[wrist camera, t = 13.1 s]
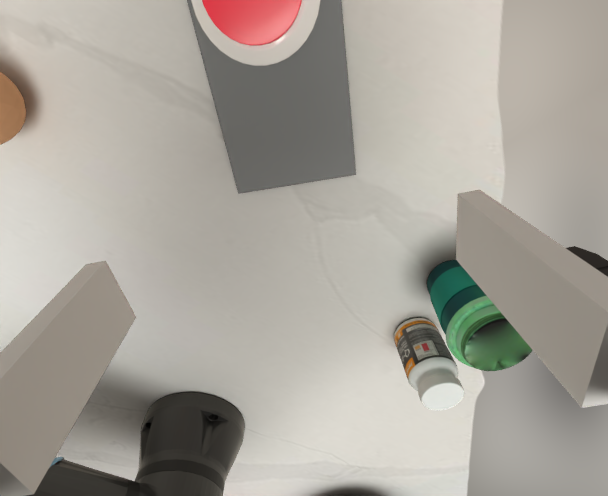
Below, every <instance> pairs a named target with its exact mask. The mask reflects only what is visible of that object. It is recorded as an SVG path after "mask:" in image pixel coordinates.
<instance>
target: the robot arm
mask: <svg viewBox="0 0 608 496" xmlns="http://www.w3.org/2000/svg"><path fill="white" fill-rule="evenodd" d="M456 260H457V261H458V262H459V264H460V265H461V266H462V267H463V268H464V269H465V271H466V272H467V273H468V274H469V275H470V277H471V278H472V279H473V280H474V281H475V282H476V284H477V285H478V286H479V287H480V288H481V290H482V291H483V292H484V293H485V294H486V295H487V297H488V298H489V299H490V300H491V301H492V303H493V304H494V305H495V306H496V307H497V308H498V310H499V311H500V312H501V313H502V314H503V316H504V317H505V318H506V319H507V320H508V321H509V323H510V324H511V325H512V326H513V327H514V329H515V330H516V331H517V332H518V333H519V334H520V336H521V337H522V338H523V339H524V340H525V342H526V343H527V344H528V345H529V346H530V347H531V349H532V350H533V351H534V352H535V353H536V355H537V356H538V357H539V358H540V359H541V360H542V362H543V363H544V364H545V365H546V366H547V368H548V369H549V370H550V371H551V372H552V373H553V375H554V376H555V377H556V378H557V379H558V380H559V382H560V383H561V384H562V385H563V386H564V387H565V389H566V390H567V391H568V392H569V393H570V395H571V396H572V397H573V398H574V399H575V401H576V402H577V403H578V404H579V405H580V406H581V408H583V407H590V406H596V405H602V404H608V261H607V260H605V259H604V258H602V257H601V256H599V255H597V254H595V253H592V252H589V251H587V250H584V249H581V248H578V247H575V246H574V247H569V248H564V247H563V246H562V245H560V244H558V243H557V242H556V241H554V240H553V239H551V238H550V237H548V236H547V235H545V234H544V233H542V232H541V231H539V230H538V229H537V228H535V227H534V226H532V225H531V224H529V223H528V222H526V221H525V220H523V219H522V218H520V217H519V216H517V215H516V214H514V213H513V212H512V211H510V210H509V209H507V208H506V207H504V206H503V205H501V204H500V203H498V202H497V201H495V200H494V199H492V198H491V197H489V196H488V195H486V194H485V193H484V192H482V191H481V190H475V191H470V192H465V193H460V194H458V203H457V237H456ZM135 318H136V316H135V314H134V312H133V310H132V309H131V307H130V305H129V303H128V301H127V299H126V297H125V296H124V294H123V292H122V290H121V288H120V286H119V285H118V283H117V281H116V279H115V277H114V275H113V273H112V272H111V270H110V268H109V266H108V264H107V262H106V261H102V262H97V263H91V264H86V265H85V266H84V267H83V268H82V269H81V270H80V271H79V272H78V273H77V274H76V275H75V276H74V278H73V279H72V280H71V281H70V282H69V283H68V284H67V285H66V286H65V287H64V288H63V289H62V290H61V291H60V292H59V293H58V294H57V295H56V296H55V297H54V298H53V299H52V300H51V301H50V302H49V303H48V304H47V305H46V306H45V307H44V309H43V310H42V311H41V312H40V313H39V314H38V315H37V316H36V317H35V318H34V319H33V320H32V321H31V322H30V323H29V324H28V325H27V326H26V327H25V328H24V329H23V330H22V331H21V332H20V333H19V334H18V335H17V336H16V337H15V338H14V340H13V341H12V342H11V343H10V344H9V345H8V346H7V347H6V348H5V349H4V350H3V351H2V352H1V353H0V496H223V490H224V484H225V480H226V478H227V475H228V473H229V471H230V469H231V467H232V465H233V463H234V460H235V458H236V456H237V454H238V452H239V450H240V447H241V445H242V442H243V436H244V428H245V423H244V419H243V417H242V415H241V414H240V412H239V411H238V410H237V409H236V408H235V407H234V406H233V405H231V404H230V403H228V402H226V401H225V400H223V399H220V398H218V397H215V396H212V395H208V394H202V393H178V394H173V395H169V396H166V397H164V398H162V399H160V400H158V401H156V402H155V403H154V404H153V405H152V406H151V407H150V408H149V410H148V411H147V414H146V416H145V419H144V421H143V424H142V427H141V437H140V457H139V471H138V474H137V476H136V479H135V481H131V480H128V479H125V478H122V477H119V476H115V475H112V474H108V473H105V472H102V471H98V470H95V469H92V468H89V467H85V466H82V465H79V464H76V463H73V462H70V461H67V460H64V458H63V457H57V458H55V457H56V455H57V453H58V452H59V450H60V448H61V446H62V445H63V443H64V441H65V439H66V438H67V436H68V434H69V432H70V431H71V429H72V427H73V426H74V424H75V422H76V420H77V419H78V417H79V415H80V413H81V412H82V410H83V408H84V407H85V405H86V403H87V401H88V400H89V398H90V396H91V394H92V393H93V391H94V389H95V387H96V386H97V384H98V382H99V381H100V379H101V377H102V375H103V374H104V372H105V370H106V368H107V367H108V365H109V363H110V362H111V360H112V358H113V356H114V355H115V353H116V351H117V349H118V348H119V346H120V344H121V342H122V341H123V339H124V337H125V336H126V334H127V332H128V330H129V329H130V327H131V325H132V323H133V322H134V320H135Z"/></svg>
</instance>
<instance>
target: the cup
mask: <svg viewBox="0 0 608 496" xmlns="http://www.w3.org/2000/svg"><path fill="white" fill-rule="evenodd" d="M427 288H428V291H429V294H430V297H431V302H432V304H433V307H434V309H435V312H436V314H437V317H438V319H439V322H440V324H441V327H442V329H443V331H444V333H445V334H446V342H447V345H448V348H449V349H450V351H451V352H452V354H453V355H454V356H455V357H456V358H457V359H458V360H459V361H460V362H462V363H464V364H466V365H468V366H471V367H474V368H476V369H479V370H484V371H497V370H502V369H506V368H509V367H511V366H514V365H515V364H517V363H519V362H521V361H522V360H524V359H525V358H526V357H527V356H528V355H529V354H530V353H531V352H532V349H531V347H530V346H529V345H528V344H527V343H526V342H525V340H524V339H523V338H522V337H521V336H520V334H519V333H518V332H517V331H516V330H515V329H514V327H513V326H512V325H511V324H510V323H509V321H508V320H507V319H506V318H505V317H504V316H503V314H502V313H501V312H500V311H499V310H498V308H497V307H496V306H495V305H494V304H493V303H492V301H491V300H490V299H489V298H488V297H487V295H486V294H485V293H484V292H483V291H482V290H481V288H480V287H479V286H478V285H477V284H476V282H475V281H474V280H473V279H472V278H471V277H470V275H469V274H468V273H467V272H466V271H465V269H464V268H463V267H462V266H461V265H460V264H459V262H458V261H457V260H450V261H446V262H443V263H441V264H439V265H438V266H436V267H435V268H434V269H433V270H432V272H431V273H430V275H429V277H428V280H427Z"/></svg>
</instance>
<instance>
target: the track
mask: <svg viewBox="0 0 608 496" xmlns="http://www.w3.org/2000/svg"><path fill="white" fill-rule="evenodd" d="M187 2H188V6H189V10H190V13H191V17H192V21H193V25H194V28H195V32H196V36H197V40H198V43H199V47H200V51H201V55H202V58H203V62H204V66H205V70H206V73H207V77H208V81H209V85H210V88H211V92H212V96H213V100H214V103H215V107H216V111H217V115H218V118H219V122H220V126H221V130H222V133H223V137H224V141H225V145H226V148H227V152H228V156H229V159H230V163H231V167H232V171H233V174H234V178H235V182H236V186H237V189H238V193H245V192H252V191H258V190H264V189H270V188H276V187H283V186H289V185H295V184H301V183H307V182H314V181H320V180H326V179H332V178H338V177H345V176H351V175H356V168H355V156H354V144H353V132H352V120H351V108H350V97H349V85H348V73H347V61H346V49H345V38H344V26H343V14H342V2H341V0H321V1H320V6H319V12H318V16H317V19H316V22H315V25H314V28H313V30H312V31H311V33H310V35H309V37H308V38H307V40H306V41H305V43H304V44H303V45H302V46H301V47H300V49H299V50H298V51H296V52H295V53H294V54H293V55H291V56H290V57H289V58H287V59H285V60H283V61H281V62H279V63H276V64H271V65H267V66H253V65H248V64H243V63H241V62H238V61H236V60H234V59H232V58H230V57H229V56H227V55H226V54H224V53H223V52H221V51H220V50H219V49H218V48H217V47H216V46H215V45H214V44H213V43H212V42H211V41H210V39H209V38H208V37H207V35H206V34H205V32H204V31H203V29H202V28H201V25H200V23H199V21H198V19H197V17H196V15H195V12H194V8H193V5H192V2H191V0H187Z"/></svg>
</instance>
